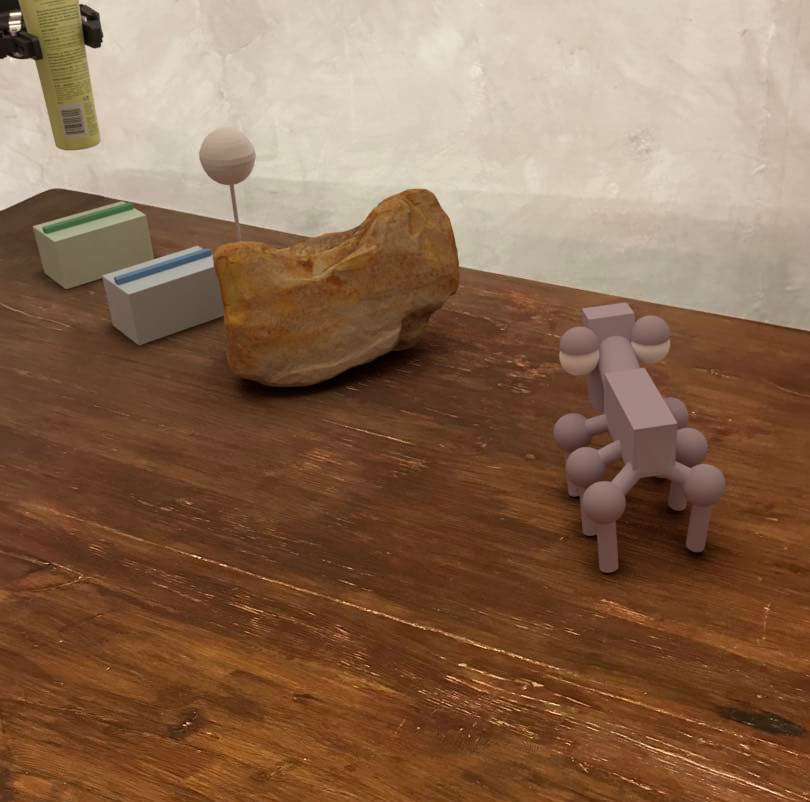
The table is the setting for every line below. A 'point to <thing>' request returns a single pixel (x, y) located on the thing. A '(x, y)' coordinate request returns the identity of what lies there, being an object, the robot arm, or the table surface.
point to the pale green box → (93, 243)
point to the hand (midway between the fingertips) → (67, 43)
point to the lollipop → (228, 161)
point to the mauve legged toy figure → (630, 428)
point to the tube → (63, 71)
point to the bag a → (164, 295)
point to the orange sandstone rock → (337, 293)
